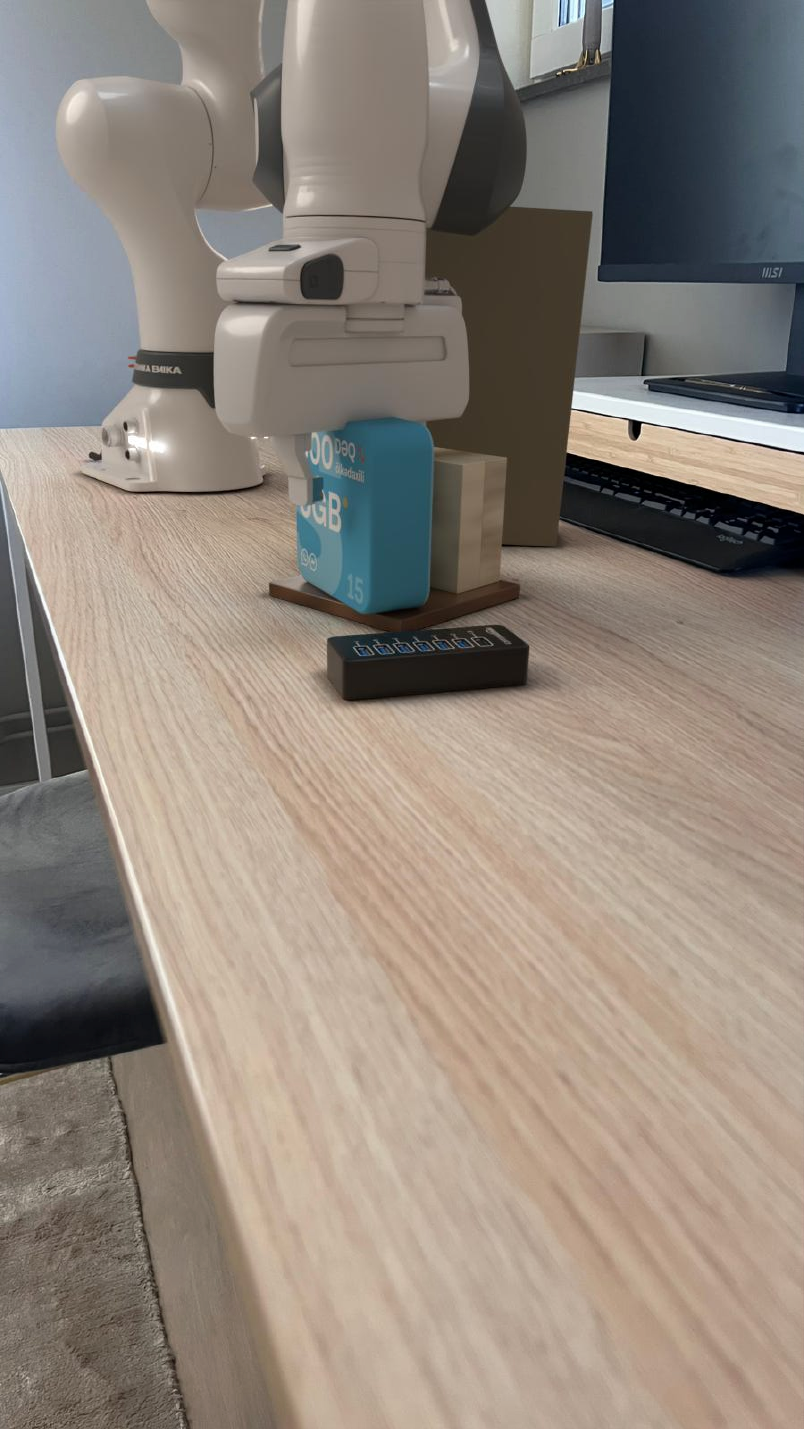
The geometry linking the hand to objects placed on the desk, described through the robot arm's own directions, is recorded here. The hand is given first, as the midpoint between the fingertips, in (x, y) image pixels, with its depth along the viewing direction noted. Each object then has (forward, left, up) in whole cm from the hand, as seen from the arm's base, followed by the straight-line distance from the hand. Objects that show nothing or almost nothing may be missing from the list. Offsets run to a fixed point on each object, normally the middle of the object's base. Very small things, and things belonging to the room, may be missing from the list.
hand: (353, 496), depth 70 cm
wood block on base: (0, +4, -8) cm, 9 cm away
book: (-11, +23, -8) cm, 27 cm away
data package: (0, 0, -7) cm, 7 cm away
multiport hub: (+13, -7, -8) cm, 17 cm away
